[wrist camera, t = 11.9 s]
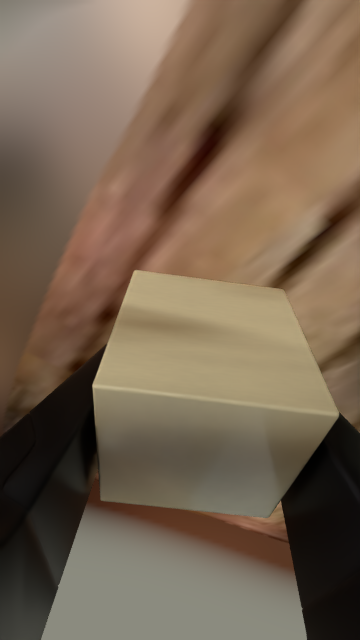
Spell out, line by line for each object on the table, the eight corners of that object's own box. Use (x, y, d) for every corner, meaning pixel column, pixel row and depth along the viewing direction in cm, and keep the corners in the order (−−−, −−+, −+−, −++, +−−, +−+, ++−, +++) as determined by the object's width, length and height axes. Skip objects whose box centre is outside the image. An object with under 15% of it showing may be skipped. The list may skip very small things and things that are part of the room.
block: (247, 389, 12) (268, 519, 8) (130, 375, 11) (99, 501, 8) (284, 288, 9) (342, 415, 5) (133, 268, 9) (90, 385, 5)
